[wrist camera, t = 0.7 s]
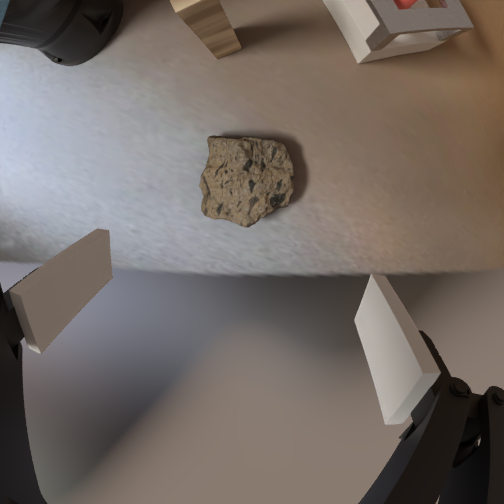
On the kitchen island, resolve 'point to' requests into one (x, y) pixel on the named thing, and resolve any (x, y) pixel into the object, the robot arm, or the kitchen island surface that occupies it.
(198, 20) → the tall wooden block
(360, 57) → the box
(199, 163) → the kitchen island surface
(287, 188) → the rock
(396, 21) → the frame
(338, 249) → the kitchen island surface
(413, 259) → the kitchen island surface
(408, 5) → the red dome button
